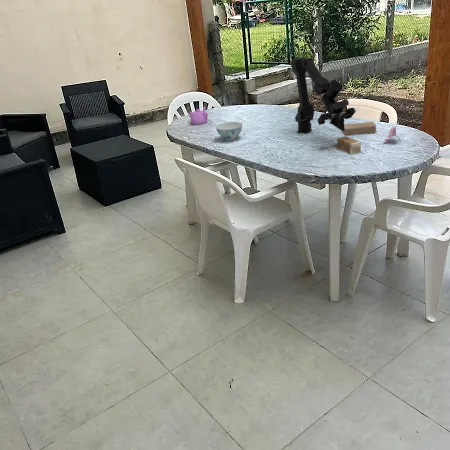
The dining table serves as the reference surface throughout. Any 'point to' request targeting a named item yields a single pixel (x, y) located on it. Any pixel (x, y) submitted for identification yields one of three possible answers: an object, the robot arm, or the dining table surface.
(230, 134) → the chinaware
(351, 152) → the walnut block
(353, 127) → the brick
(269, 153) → the dining table surface
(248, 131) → the dining table surface
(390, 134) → the lily
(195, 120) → the teapot
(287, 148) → the dining table surface
